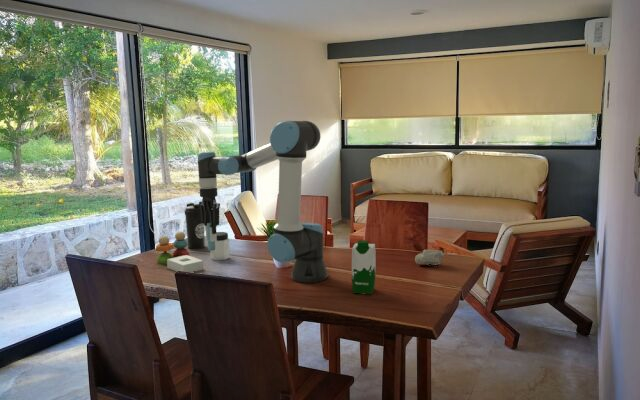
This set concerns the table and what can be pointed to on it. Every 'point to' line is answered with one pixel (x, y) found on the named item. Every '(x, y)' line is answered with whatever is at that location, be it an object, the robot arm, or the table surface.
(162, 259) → the colourful stacking toy
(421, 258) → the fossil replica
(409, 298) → the table surface
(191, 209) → the water bottle
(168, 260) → the socket block
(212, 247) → the peg
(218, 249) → the jar
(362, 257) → the milk carton
